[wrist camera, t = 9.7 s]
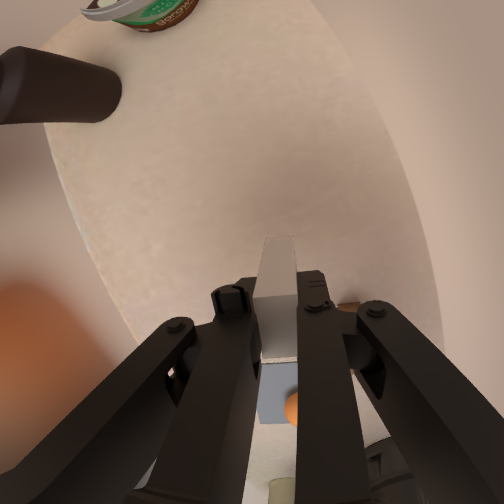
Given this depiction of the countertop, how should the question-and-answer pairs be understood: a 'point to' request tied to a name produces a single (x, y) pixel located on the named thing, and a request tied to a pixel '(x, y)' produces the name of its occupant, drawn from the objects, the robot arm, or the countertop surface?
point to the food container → (141, 12)
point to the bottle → (54, 88)
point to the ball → (291, 409)
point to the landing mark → (276, 391)
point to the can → (282, 491)
